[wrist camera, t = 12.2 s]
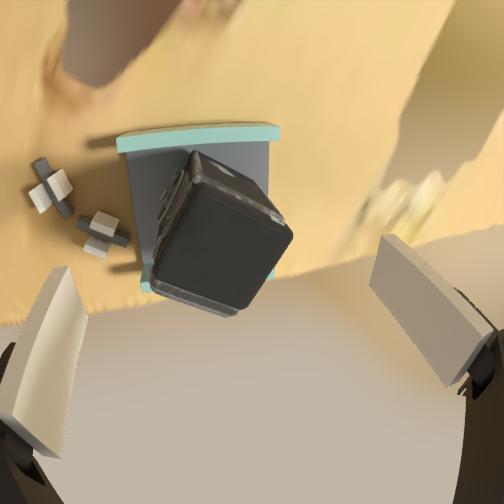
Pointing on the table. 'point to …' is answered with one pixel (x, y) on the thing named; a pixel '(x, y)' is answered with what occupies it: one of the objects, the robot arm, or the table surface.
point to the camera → (215, 238)
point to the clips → (98, 223)
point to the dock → (170, 157)
